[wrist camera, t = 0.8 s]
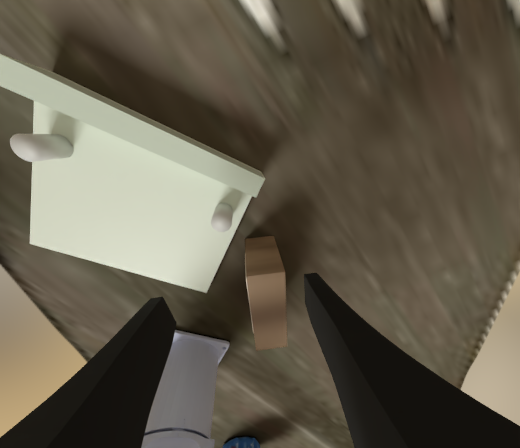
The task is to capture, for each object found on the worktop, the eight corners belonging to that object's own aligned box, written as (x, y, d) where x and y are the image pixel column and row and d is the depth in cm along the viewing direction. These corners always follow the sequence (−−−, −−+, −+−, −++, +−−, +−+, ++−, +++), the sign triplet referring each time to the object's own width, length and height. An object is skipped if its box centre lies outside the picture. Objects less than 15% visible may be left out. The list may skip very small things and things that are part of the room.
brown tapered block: (276, 298, 24) (287, 346, 19) (251, 301, 24) (254, 351, 18) (273, 235, 20) (285, 271, 15) (243, 238, 20) (244, 276, 15)
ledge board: (208, 285, 22) (202, 312, 19) (42, 237, 18) (-3, 260, 15) (261, 171, 17) (265, 180, 14) (52, 71, 13) (-13, 49, 10)
